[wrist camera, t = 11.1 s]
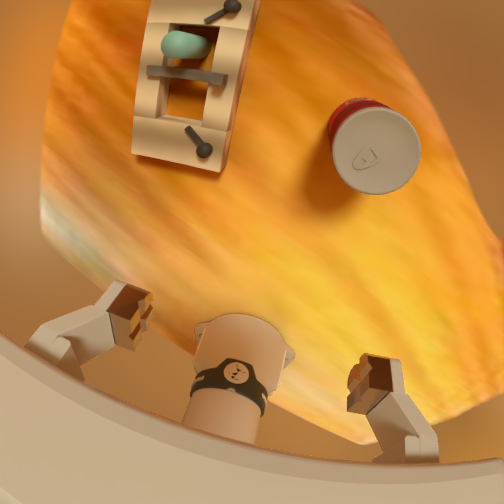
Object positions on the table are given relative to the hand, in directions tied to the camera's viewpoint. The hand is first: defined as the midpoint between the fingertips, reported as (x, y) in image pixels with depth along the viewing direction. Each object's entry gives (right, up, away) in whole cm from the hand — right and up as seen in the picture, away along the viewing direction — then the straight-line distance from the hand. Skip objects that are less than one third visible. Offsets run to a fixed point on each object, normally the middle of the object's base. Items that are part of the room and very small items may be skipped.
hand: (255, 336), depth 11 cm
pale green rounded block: (-6, +27, +19) cm, 34 cm away
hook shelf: (-7, +24, +21) cm, 33 cm away
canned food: (+12, +17, +21) cm, 30 cm away
